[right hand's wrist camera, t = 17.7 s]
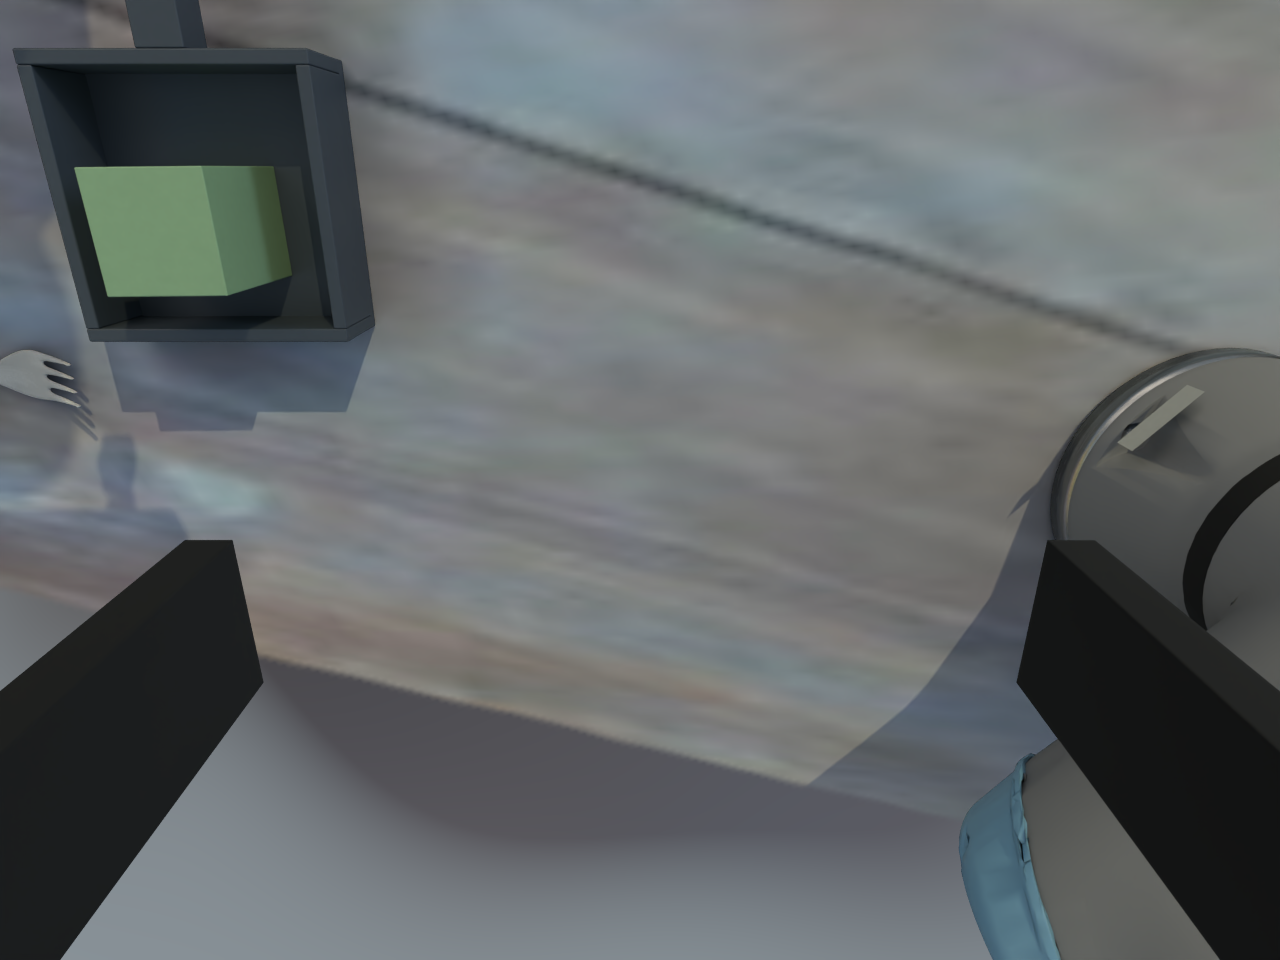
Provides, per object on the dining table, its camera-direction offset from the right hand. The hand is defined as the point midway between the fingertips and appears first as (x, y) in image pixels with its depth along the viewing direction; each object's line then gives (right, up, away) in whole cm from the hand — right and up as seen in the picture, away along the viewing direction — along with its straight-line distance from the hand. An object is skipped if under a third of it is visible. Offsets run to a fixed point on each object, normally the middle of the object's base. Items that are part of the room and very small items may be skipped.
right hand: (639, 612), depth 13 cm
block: (-20, +14, +24) cm, 35 cm away
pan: (-20, +22, +22) cm, 37 cm away
